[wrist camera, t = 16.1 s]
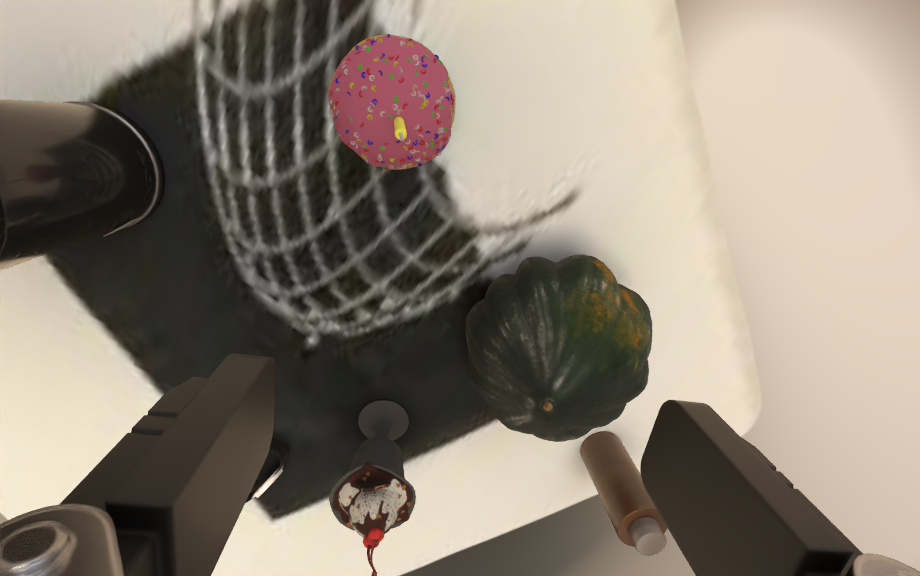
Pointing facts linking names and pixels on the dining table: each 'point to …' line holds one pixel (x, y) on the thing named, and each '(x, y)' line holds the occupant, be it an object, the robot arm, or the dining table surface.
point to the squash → (558, 347)
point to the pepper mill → (623, 493)
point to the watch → (283, 454)
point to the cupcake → (392, 102)
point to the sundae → (375, 478)
